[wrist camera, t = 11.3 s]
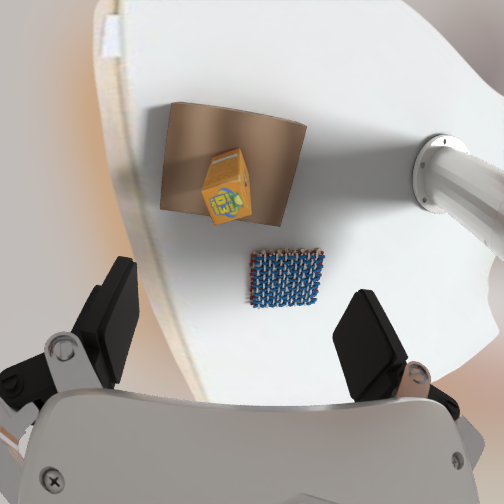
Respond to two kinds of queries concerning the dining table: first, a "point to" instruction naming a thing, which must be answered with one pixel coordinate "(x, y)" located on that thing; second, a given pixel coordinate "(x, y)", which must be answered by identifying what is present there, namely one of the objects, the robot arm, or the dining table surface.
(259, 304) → the woven mat
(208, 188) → the supplement box
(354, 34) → the dining table surface
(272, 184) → the walnut stand
